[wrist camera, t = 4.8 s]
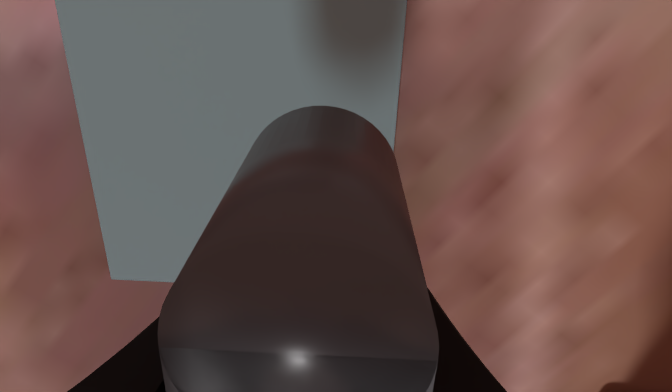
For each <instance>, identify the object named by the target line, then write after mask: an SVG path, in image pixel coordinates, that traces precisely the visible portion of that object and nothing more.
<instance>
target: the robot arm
mask: <svg viewBox="0 0 672 392" xmlns="http://www.w3.org/2000/svg"><path fill="white" fill-rule="evenodd" d="M427 290H428V294H429V298H430V302H431V306H432V310H433V314H434V318H435V322H436V327H437V331H438V339H439V355H438V364H437V370H436V375H435V381H434V387H433V392H507V391H506V390H505V389H504V388H503V387H502V386H501V384H500V383H499V382H498V381H497V380H496V379H495V377H494V376H493V375H492V374H491V373H490V371H489V370H488V369H487V368H486V367H485V365H484V364H483V363H482V362H481V360H480V359H479V358H478V357H477V355H476V354H475V353H474V351H473V350H472V349H471V348H470V346H469V345H468V344H467V343H466V341H465V340H464V339H463V337H462V336H461V335H460V333H459V332H458V331H457V329H456V328H455V327H454V325H453V324H452V322H451V321H450V320H449V318H448V317H447V315H446V314H445V313H444V311H443V310H442V308H441V307H440V305H439V304H438V302H437V301H436V299H435V298H434V296H433V295H432V293H431V292H430V290H429V289H428V288H427ZM158 322H159V317H158V318H157V319H156V320H155V321H154V322H153V323H151V324H150V325H149V326H148V327H147V328H146V329H145V330H143V331H142V332H141V333H140V334H139V335H138V336H137V337H135V338H134V339H133V340H132V341H131V342H130V343H129V344H127V345H126V346H125V347H124V348H123V349H121V350H120V351H119V352H118V353H116V354H115V355H114V356H113V357H111V358H110V359H109V360H108V361H106V362H105V363H104V364H103V365H101V366H100V367H99V368H98V369H96V370H95V371H94V372H93V373H91V374H90V375H89V376H88V377H86V378H85V379H84V380H82V381H81V382H80V383H78V384H77V385H76V386H74V387H73V388H72V389H70V390H69V391H67V392H166V390H165V384H164V378H163V371H162V365H161V359H160V353H159V346H158Z"/></svg>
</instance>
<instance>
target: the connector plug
mask: <svg viewBox="0 0 672 392" xmlns="http://www.w3.org/2000/svg"><path fill="white" fill-rule="evenodd" d="M158 346H159V353H160V359H161V365H162V371H163V378H164V384H165V390H166V392H433V387H434V381H435V375H436V370H437V364H438V355H439V339H438V331H437V327H436V322H435V318H434V314H433V310H432V306H431V302H430V298H429V294H428V290H427V285H426V281H425V277H424V273H423V269H422V265H421V261H420V257H419V253H418V249H417V244H416V240H415V236H414V232H413V228H412V224H411V220H410V216H409V212H408V207H407V203H406V199H405V195H404V191H403V187H402V183H401V179H400V175H399V170H398V166H397V162H396V159H395V155H394V153H393V151H392V148H391V146H390V145H389V143H388V141H387V140H386V138H385V137H384V136H383V134H382V133H381V132H380V131H379V130H378V129H377V128H376V127H375V126H374V125H373V124H372V123H370V122H369V121H368V120H366V119H365V118H363V117H361V116H359V115H358V114H356V113H354V112H351V111H348V110H346V109H342V108H338V107H333V106H309V107H302V108H299V109H296V110H292V111H290V112H288V113H286V114H283V115H282V116H280V117H278V118H277V119H275V120H274V121H273V122H271V123H270V124H269V125H268V126H267V127H266V128H265V129H264V130H263V131H262V132H261V133H260V135H259V136H258V138H257V139H256V141H255V142H254V144H253V146H252V147H251V149H250V151H249V153H248V154H247V156H246V158H245V160H244V161H243V163H242V165H241V167H240V168H239V170H238V172H237V174H236V175H235V177H234V179H233V181H232V182H231V184H230V186H229V188H228V189H227V191H226V193H225V195H224V196H223V198H222V200H221V202H220V203H219V205H218V207H217V209H216V210H215V212H214V214H213V216H212V217H211V219H210V221H209V222H208V224H207V226H206V228H205V229H204V231H203V233H202V235H201V236H200V238H199V240H198V242H197V243H196V245H195V247H194V249H193V250H192V252H191V254H190V256H189V257H188V259H187V261H186V263H185V264H184V266H183V268H182V270H181V271H180V273H179V275H178V277H177V278H176V280H175V282H174V284H173V285H172V287H171V289H170V291H169V293H168V295H167V297H166V299H165V301H164V303H163V306H162V309H161V313H160V316H159V322H158Z"/></svg>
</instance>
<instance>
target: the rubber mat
mask: <svg viewBox="0 0 672 392" xmlns="http://www.w3.org/2000/svg"><path fill="white" fill-rule="evenodd" d="M55 4H56V9H57V14H58V19H59V23H60V28H61V33H62V38H63V43H64V48H65V53H66V58H67V63H68V68H69V73H70V78H71V83H72V88H73V93H74V97H75V102H76V107H77V112H78V117H79V122H80V127H81V132H82V137H83V142H84V147H85V152H86V157H87V162H88V167H89V171H90V176H91V181H92V186H93V191H94V196H95V201H96V206H97V211H98V216H99V221H100V226H101V231H102V236H103V241H104V245H105V250H106V255H107V260H108V265H109V270H110V275H111V279H116V280H137V281H158V282H175V280H176V278H177V277H178V275H179V273H180V271H181V270H182V268H183V266H184V264H185V263H186V261H187V259H188V257H189V256H190V254H191V252H192V250H193V249H194V247H195V245H196V243H197V242H198V240H199V238H200V236H201V235H202V233H203V231H204V229H205V228H206V226H207V224H208V222H209V221H210V219H211V217H212V216H213V214H214V212H215V210H216V209H217V207H218V205H219V203H220V202H221V200H222V198H223V196H224V195H225V193H226V191H227V189H228V188H229V186H230V184H231V182H232V181H233V179H234V177H235V175H236V174H237V172H238V170H239V168H240V167H241V165H242V163H243V161H244V160H245V158H246V156H247V154H248V153H249V151H250V149H251V147H252V146H253V144H254V142H255V141H256V139H257V138H258V136H259V135H260V133H261V132H262V131H263V130H264V129H265V128H266V127H267V126H268V125H269V124H270V123H271V122H273V121H274V120H275V119H277V118H278V117H280V116H282V115H283V114H286V113H288V112H290V111H292V110H296V109H299V108H302V107H309V106H333V107H338V108H342V109H346V110H348V111H351V112H354V113H356V114H358V115H359V116H361V117H363V118H365V119H366V120H368V121H369V122H370V123H372V124H373V125H374V126H375V127H376V128H377V129H378V130H379V131H380V132H381V133H382V134H383V136H384V137H385V138H386V140H387V141H388V143H389V145H390V146H391V148H392V151H393V150H394V139H395V128H396V117H397V106H398V95H399V84H400V73H401V62H402V51H403V40H404V28H405V17H406V6H407V0H55Z"/></svg>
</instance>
